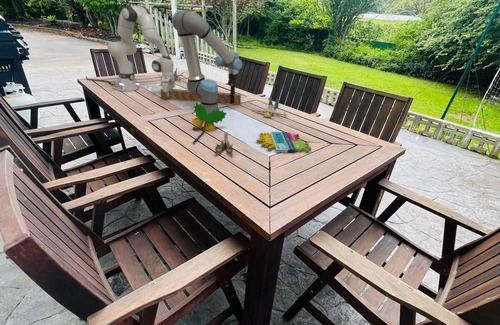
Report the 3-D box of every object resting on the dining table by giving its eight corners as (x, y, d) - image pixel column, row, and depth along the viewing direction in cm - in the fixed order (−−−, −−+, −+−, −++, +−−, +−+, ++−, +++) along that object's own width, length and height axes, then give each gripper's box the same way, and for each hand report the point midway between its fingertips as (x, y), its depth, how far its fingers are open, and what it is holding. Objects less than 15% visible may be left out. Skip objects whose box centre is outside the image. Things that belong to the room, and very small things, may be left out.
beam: (240, 102, 218) (240, 94, 214) (240, 104, 213) (240, 95, 209) (163, 97, 218) (162, 88, 215) (161, 98, 214) (160, 89, 210)
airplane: (151, 78, 274) (150, 68, 269) (181, 76, 288) (180, 67, 282) (158, 87, 246) (157, 77, 241) (191, 85, 259) (191, 75, 254)
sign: (313, 150, 142) (258, 149, 139) (312, 153, 143) (258, 152, 140) (301, 132, 164) (254, 130, 161) (301, 134, 165) (254, 133, 162)
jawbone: (234, 135, 144) (233, 125, 135) (233, 160, 138) (232, 151, 129) (217, 135, 144) (216, 125, 135) (216, 160, 138) (214, 150, 129)
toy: (291, 100, 208) (287, 111, 182) (290, 109, 211) (286, 120, 185) (257, 96, 213) (248, 105, 187) (256, 105, 216) (248, 115, 190)
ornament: (218, 133, 171) (224, 110, 169) (221, 134, 163) (227, 111, 161) (186, 125, 162) (192, 101, 160) (189, 126, 155) (195, 101, 153)
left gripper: (168, 75, 217) (169, 91, 224) (160, 80, 199) (161, 98, 206) (176, 75, 217) (177, 92, 224) (168, 81, 199) (169, 98, 206)
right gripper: (229, 71, 212) (229, 99, 223) (227, 75, 196) (226, 105, 207) (238, 71, 212) (237, 99, 223) (237, 76, 196) (235, 106, 207)
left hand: (169, 95), depth 214 cm, fingers closed on beam, 5 cm apart
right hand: (232, 102), depth 215 cm, fingers closed on beam, 5 cm apart
